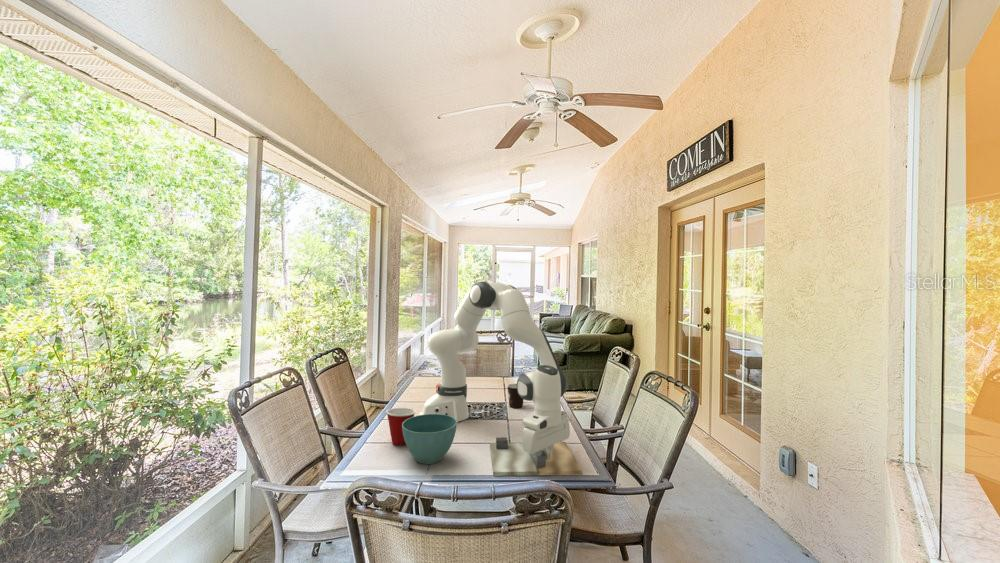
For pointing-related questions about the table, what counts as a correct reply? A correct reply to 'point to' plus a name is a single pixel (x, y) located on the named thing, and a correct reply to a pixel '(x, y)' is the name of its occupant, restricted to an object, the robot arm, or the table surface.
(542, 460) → the latch bar
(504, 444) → the block
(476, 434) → the table surface
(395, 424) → the plastic cup
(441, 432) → the plant pot
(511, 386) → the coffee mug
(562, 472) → the door board
